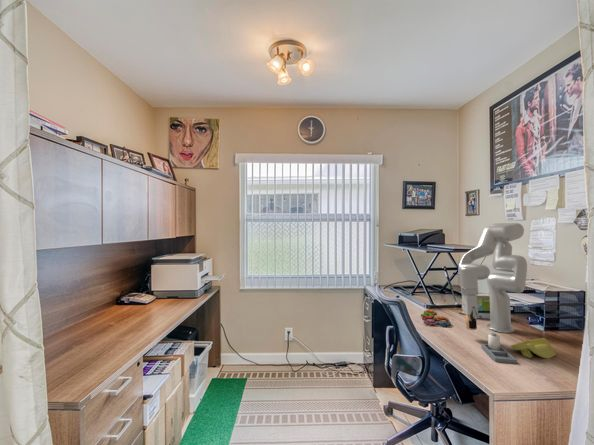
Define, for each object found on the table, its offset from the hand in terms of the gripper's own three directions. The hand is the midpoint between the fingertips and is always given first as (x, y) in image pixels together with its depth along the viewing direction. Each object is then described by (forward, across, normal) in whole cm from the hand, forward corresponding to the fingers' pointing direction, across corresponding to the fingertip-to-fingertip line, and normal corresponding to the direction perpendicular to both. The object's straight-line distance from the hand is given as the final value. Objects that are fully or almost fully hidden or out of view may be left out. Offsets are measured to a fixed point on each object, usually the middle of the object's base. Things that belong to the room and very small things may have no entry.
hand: (471, 326), depth 148 cm
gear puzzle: (+9, -35, -11) cm, 37 cm away
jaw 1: (+1, 0, 0) cm, 1 cm away
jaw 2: (+6, +14, +5) cm, 16 cm away
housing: (+7, +18, +5) cm, 20 cm away
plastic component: (+8, +12, +20) cm, 25 cm away
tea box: (+10, -46, +19) cm, 51 cm away
